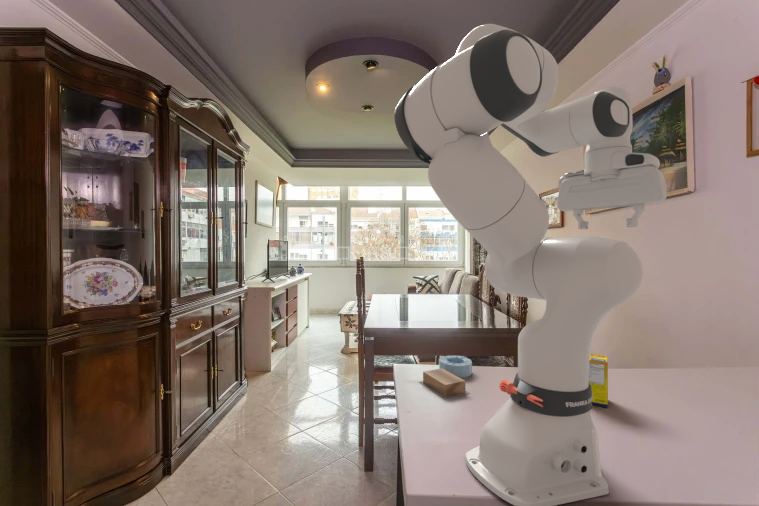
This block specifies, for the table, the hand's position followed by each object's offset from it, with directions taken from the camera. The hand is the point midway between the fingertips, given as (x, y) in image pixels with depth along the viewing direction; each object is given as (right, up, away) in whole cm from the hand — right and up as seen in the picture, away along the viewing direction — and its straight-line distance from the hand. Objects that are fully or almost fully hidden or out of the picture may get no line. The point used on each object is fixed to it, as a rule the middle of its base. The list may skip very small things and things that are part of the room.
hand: (606, 228), depth 75 cm
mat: (-34, -42, +13) cm, 55 cm away
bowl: (-28, -42, +25) cm, 56 cm away
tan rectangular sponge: (-34, -41, +13) cm, 55 cm away
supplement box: (+2, -42, +8) cm, 43 cm away
